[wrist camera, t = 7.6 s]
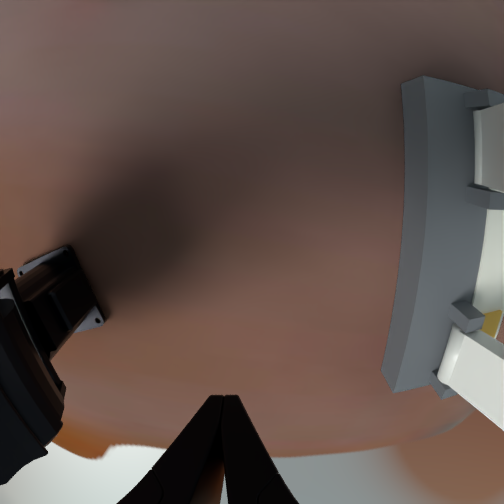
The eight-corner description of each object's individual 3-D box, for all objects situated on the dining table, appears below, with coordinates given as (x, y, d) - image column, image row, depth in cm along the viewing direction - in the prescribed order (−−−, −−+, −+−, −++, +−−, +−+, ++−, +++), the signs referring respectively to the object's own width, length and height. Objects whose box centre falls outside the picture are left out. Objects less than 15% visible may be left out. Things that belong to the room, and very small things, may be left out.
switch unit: (380, 370, 23) (404, 413, 18) (400, 84, 16) (445, 67, 11) (468, 350, 23) (497, 382, 18) (499, 108, 16) (545, 105, 11)
